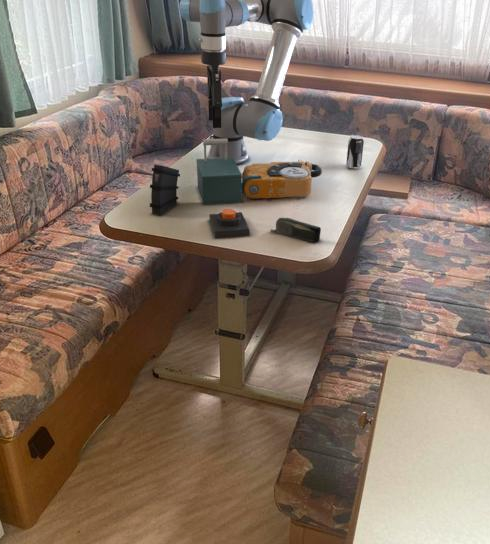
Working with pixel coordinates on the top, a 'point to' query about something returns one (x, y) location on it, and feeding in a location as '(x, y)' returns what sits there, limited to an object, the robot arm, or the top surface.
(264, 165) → the device
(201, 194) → the teal rectangular block
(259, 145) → the top surface
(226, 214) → the button
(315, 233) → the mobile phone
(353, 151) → the beverage can
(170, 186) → the magazine
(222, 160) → the lid
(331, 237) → the top surface
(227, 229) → the control block
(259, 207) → the top surface
